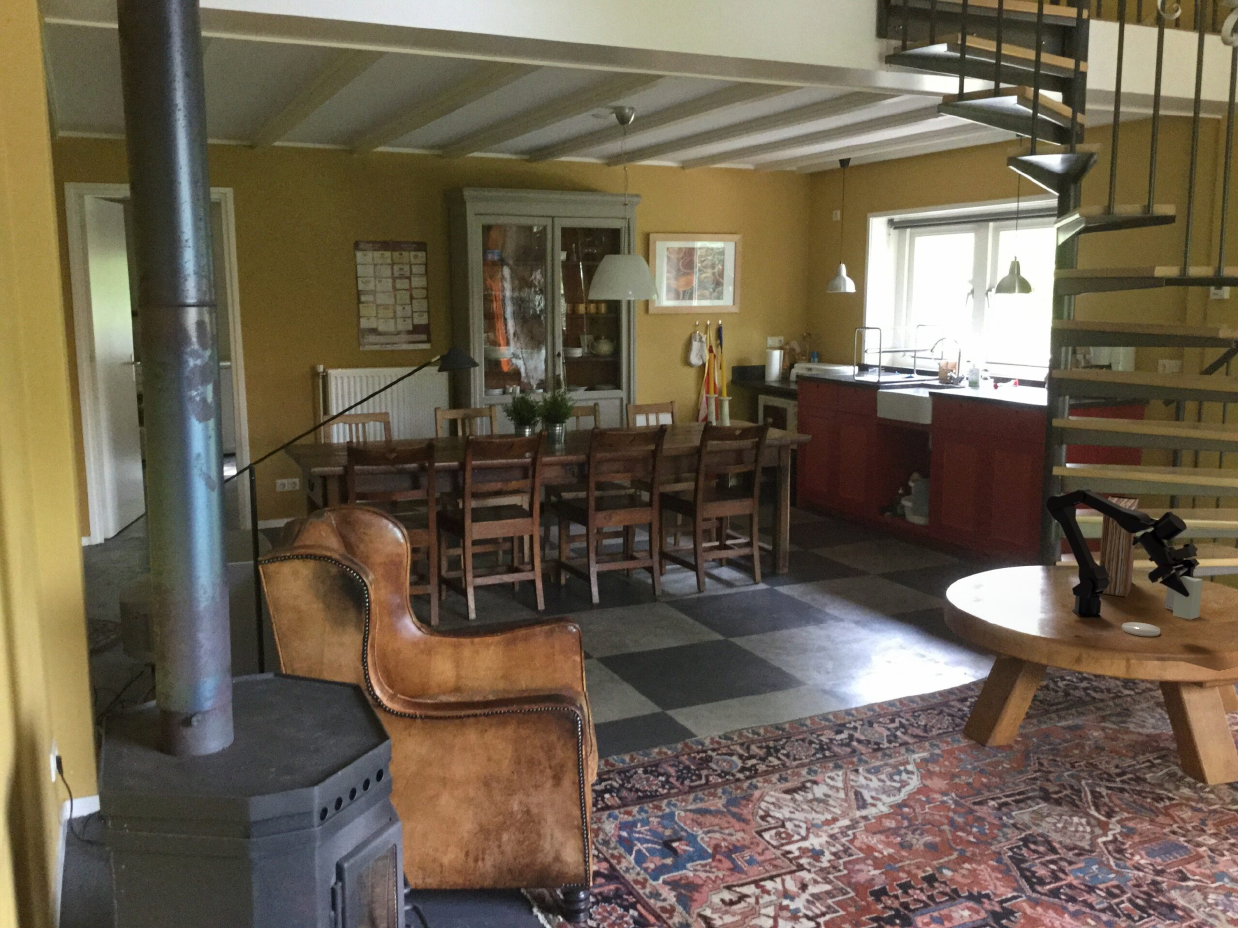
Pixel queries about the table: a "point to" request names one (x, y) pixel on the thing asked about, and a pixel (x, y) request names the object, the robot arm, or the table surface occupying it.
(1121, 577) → the brown striped upright block
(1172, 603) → the skincare box
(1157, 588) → the table surface
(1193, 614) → the sage block
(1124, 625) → the coaster
